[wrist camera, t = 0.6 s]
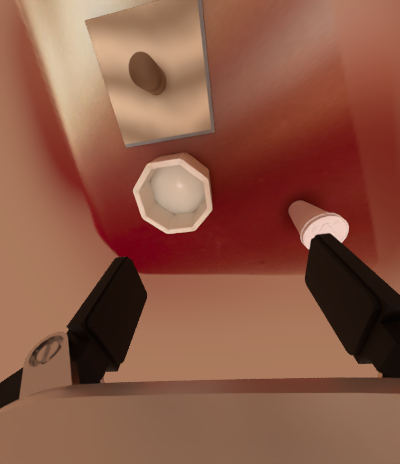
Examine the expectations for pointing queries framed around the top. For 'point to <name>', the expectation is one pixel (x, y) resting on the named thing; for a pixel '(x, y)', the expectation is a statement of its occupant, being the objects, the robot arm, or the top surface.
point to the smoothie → (316, 222)
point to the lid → (153, 69)
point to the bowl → (174, 193)
